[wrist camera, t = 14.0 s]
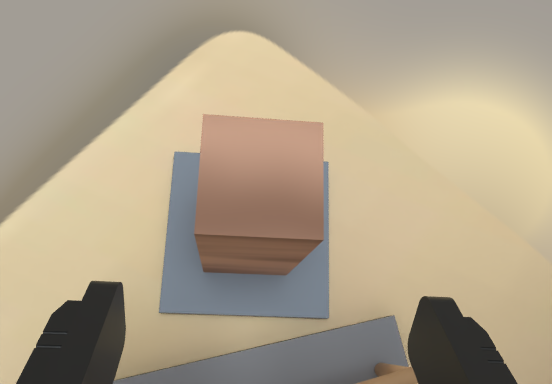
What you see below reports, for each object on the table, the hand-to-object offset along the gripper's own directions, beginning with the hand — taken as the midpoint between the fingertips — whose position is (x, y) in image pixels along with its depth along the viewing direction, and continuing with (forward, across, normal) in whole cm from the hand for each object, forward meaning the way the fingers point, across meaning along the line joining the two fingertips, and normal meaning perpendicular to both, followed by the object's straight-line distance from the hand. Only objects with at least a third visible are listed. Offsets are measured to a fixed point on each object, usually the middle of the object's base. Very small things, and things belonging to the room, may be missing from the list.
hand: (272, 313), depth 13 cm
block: (+13, 0, +6) cm, 14 cm away
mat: (+13, 0, +6) cm, 14 cm away
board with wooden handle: (+7, 0, +13) cm, 14 cm away
